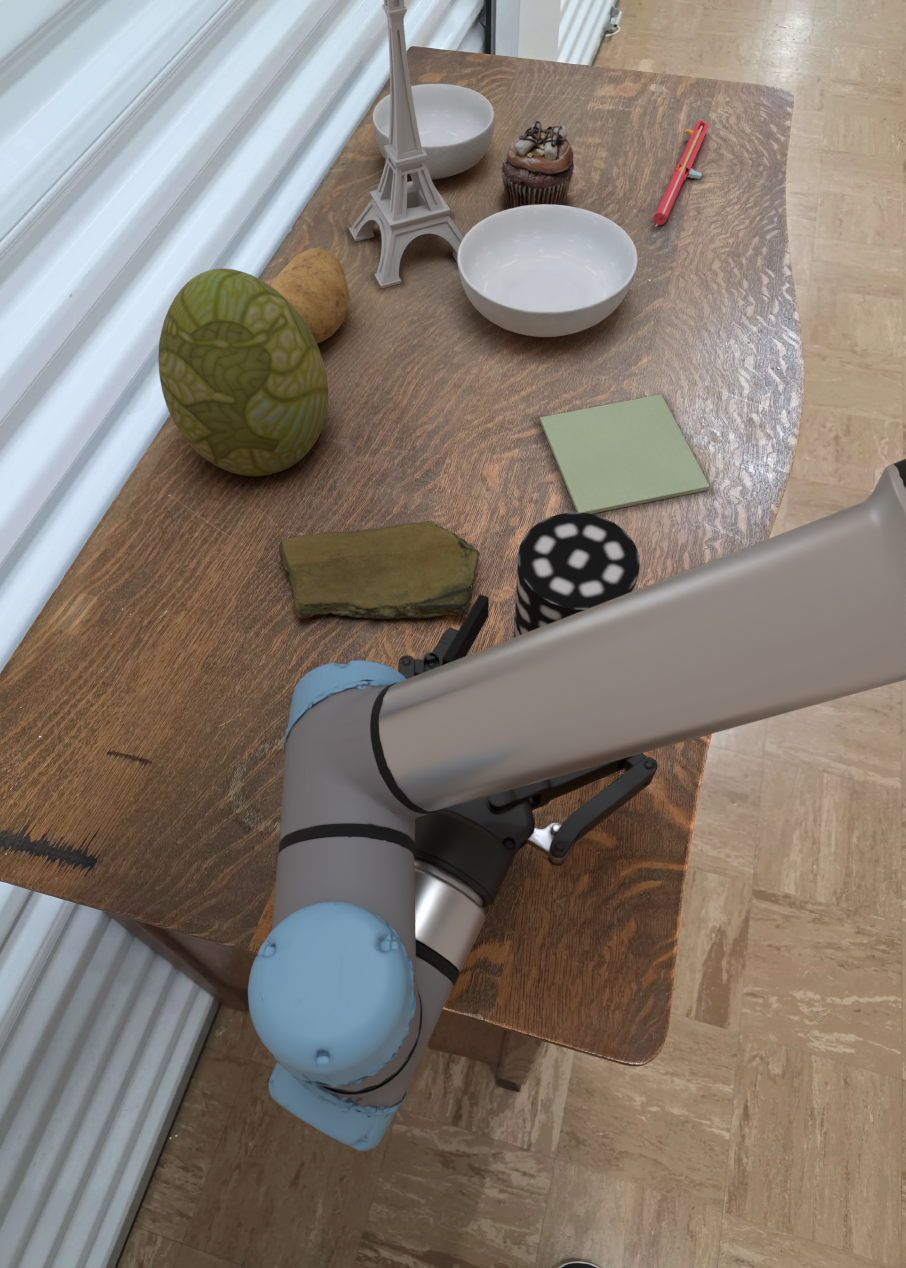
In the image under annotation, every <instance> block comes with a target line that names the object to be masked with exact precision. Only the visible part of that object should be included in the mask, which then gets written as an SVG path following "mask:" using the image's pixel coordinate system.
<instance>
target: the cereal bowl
mask: <svg viewBox="0 0 906 1268" xmlns="http://www.w3.org/2000/svg"><path fill="white" fill-rule="evenodd" d="M411 90H412V97H413V103H414V109H415V115H416V121H417V126H418V132H419V137H420V142H421V147H422V148H423V149H424V151H425V152H426V154H427V158H428V159H427V160H426V161H425V163H426V166H427V169H428V171H429V174H430V177H431V179H432V180H441V179H446V178H449V177H451V176H455V175H458V174H461V173H464V172H465V171H468V170H469V169H471V168H473V167H474V166H476V165H477V164H478V163H479V162H480V161H481V160H483V158H484V157H485V155H486V154H487V152H488V150H489V149H490V146H491V144H492V140H493V136H494V130H495V111H494V107H493V105H492V103H491V101H489V99H487V97H485V96H484V95H483V94H482V93H480V92H478V91H475V90H473V89H471V88H468V87H464V86H460V85H456V84H448V83H424V84H416V85H411ZM371 120H372V129H373V136H374V140H375V143H376V146H377V149H378V150H379V152H380V154H381V155H382V157H383V158H384V159H385V160H386V159H387V155H388V154H387V153H386V151H385V149H384V146H386V145H389V126H390V93H389V94H387V95H386V96H384V97H383V98H381V99H380V100H379V102H378V103H377V104H376V105H375V107H374V109H373V112H372V119H371ZM408 175H410V173H409V174H408Z"/></svg>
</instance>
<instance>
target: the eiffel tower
mask: <svg viewBox="0 0 906 1268" xmlns="http://www.w3.org/2000/svg"><path fill="white" fill-rule="evenodd" d="M381 7H382V9H383V10H384V12H385V15H386V20H387V34H388V53H389V54H388V56H389V57H388V58H389V94H390V126H389V145H386V146H384V149H385V151H386V153H387V154H388V155H387V159H385V163H384V167H383V170H382V174H381V177H380V181H379V183H378V186H377V189H374V190H371V191H369V195H370V196H371V199H370V201H369V202H368V204H367V205H366V207H365V208H364V209H363V211H362V212H361V213H360V215H359V216H358V217H357V219H356V220H355V221H354V223H353V224H352V225H351V227H348V231H349V233H350V235H351V237H352V239H353V241H354V242H359V241H364V240H367V239H371V238H372V239H373V238H375V232H374V228H375V225H376V224H377V225H378V227H379V231H380V235H381V248H380V249H381V250H380V257H379V262H378V265H377V266H378V267H377V270H376V272H375V273H373V274H374V278H375V280H376V282H377V284H378V285H379V287H380V288H381V289H385V288H389V287H392V286H396V285H401V284H402V279H401V277H400V263H401V259H402V256H403V254H404V251H405V250H406V248H407V246H408V245H409V244H410V243H411V242H412V241H413V240H414V239H416V238H417V237H419V236H422V235H428V234H429V235H430V234H431V235H435V236H438V237H441V238H443V239H444V240H446V241H447V242H448V243H449V244H450V245H451V246H452V249H453V252H452V257H453V258H454V260H455V261H456V262H457V255H458V249H459V246H460V244H461V242H462V240H463V238H464V237H465V236H463V235H462V233H461V232H460V230H459V229H458V227H457V225H455V223H454V221H453V220H452V218H451V217H450V214H451V208H450V207H449V205H448V204H447V203H446V201H445V199H444V198H443V196H442V195H441V194H440V193H439V190H438V189H437V188H436V186H435V185H434V182H433V179H431V177H430V174H429V171H428V169H427V166H426V163H425V161H426V160H427V159H428V158H427V154H426V152H425V151H424V149H423V148H422V147H421V142H420V137H419V132H418V126H417V121H416V115H415V109H414V103H413V97H412V90H411V86H412V85H411V83H412V82H411V77H410V70H409V61H408V51H407V44H406V42H407V41H406V32H405V23H404V22H405V21H404V20H405V16H406V13H407V11H408V9H407V7H406V6H405V0H383V4H381ZM409 173H410V174H409ZM408 175H409V176H410V178H411V179H410V180H411V181H408Z"/></svg>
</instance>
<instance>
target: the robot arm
mask: <svg viewBox="0 0 906 1268" xmlns="http://www.w3.org/2000/svg"><path fill="white" fill-rule="evenodd" d="M489 598H490V597H488V596H487V595H484V594H482V593H480V594H479V595H478V596H477V598H476V600H475V602H474V604H473V605H472V607H471V609H470V610H469V612H468V614H467V615H466V617H465V619H464V620H463V623H462V624H461V626H460V628H459V629H456V628H453V627H451V626H449V627H448V628H447V629H446V630H444V632H443V633H442V634H441V637H440V638H439V640H438V642H437V644H435V647H434V648H433V650H432V651H429V652H427V653H425V654H424V655H423V658H421V659H419V658H414V657H413V656H411V655H408V654H405V655H402V656H401V657H400V658H399V659H398V663H397V664H398V665H397V666H398V667H397V670H396V669H394V668H393V667H390V666H389V665H387V664H383V663H381V662H376V661H369V660H363V659H354V660H350V661H348V663H337V662H329V663H325V664H322V665H319V666H317V667H315V668H313V669H312V670H310V671H309V672H306V674H305V675H303V676H302V677H301V678H300V679H299V681H298V682H297V683H296V684H295V685H296V686H295V687H294V689H293V693H292V696H291V703H290V711H289V716H288V723H287V728H286V730H285V734H284V740H283V751H284V765H283V779H282V780H283V781H282V795H281V810H280V811H281V812H280V826H279V827H280V828H279V844H278V854H277V863H276V875H275V887H274V898H273V899H274V901H273V911H272V923H271V931H270V932H269V933H268V935H267V937H266V939H265V940H264V941H263V943H262V945H261V946H260V948H259V950H258V953H257V955H256V956H255V958H254V960H253V962H252V965H251V968H250V974H249V976H248V977H249V978H248V985H247V999H248V1000H247V1001H248V1010H249V1015H250V1019H251V1022H252V1025H253V1028H254V1030H255V1032H256V1034H257V1036H258V1038H259V1039H260V1041H261V1043H262V1044H263V1046H265V1047H266V1049H267V1050H268V1053H270V1054H271V1056H272V1058H273V1060H275V1061H276V1063H275V1066H274V1068H273V1070H272V1072H271V1075H270V1076H269V1080H268V1091H269V1095H270V1097H271V1098H272V1099H273V1100H274V1101H275V1102H276V1103H277V1104H278V1105H279V1106H281V1107H282V1108H283V1109H285V1110H286V1111H288V1113H290V1114H292V1115H293V1116H295V1117H296V1118H298V1119H300V1120H301V1121H302V1122H304V1123H306V1124H308V1125H309V1126H311V1127H312V1128H315V1129H316V1130H318V1131H319V1132H321V1133H322V1134H324V1135H326V1136H328V1137H330V1138H332V1139H333V1140H335V1141H337V1142H339V1143H341V1144H343V1145H345V1146H349V1147H350V1148H351V1149H354V1150H356V1151H360V1152H367V1151H371V1150H373V1149H374V1148H376V1147H377V1146H378V1145H379V1144H380V1142H381V1141H382V1139H383V1137H384V1135H385V1133H386V1131H387V1130H388V1128H389V1126H390V1124H391V1122H392V1120H393V1118H394V1116H395V1115H396V1113H397V1112H398V1109H399V1108H400V1107H402V1106H403V1105H404V1102H405V1100H406V1098H407V1094H408V1093H407V1090H408V1088H409V1085H410V1083H411V1080H412V1079H413V1076H414V1074H415V1072H416V1069H417V1067H418V1065H419V1063H420V1061H421V1059H422V1056H423V1054H424V1052H425V1050H426V1048H427V1047H428V1046H427V1045H428V1043H429V1041H430V1039H431V1038H432V1037H431V1036H432V1034H433V1033H434V1030H435V1027H436V1026H437V1023H438V1021H439V1019H440V1016H441V1014H442V1012H443V1009H444V1008H445V1006H446V1003H447V1001H448V998H449V996H450V994H451V991H452V990H453V987H454V986H455V985H456V983H457V980H458V979H459V977H460V974H461V972H462V970H463V968H464V966H465V965H466V962H467V960H468V957H469V956H470V953H471V951H472V949H473V947H474V945H475V943H476V941H477V939H478V938H479V937H478V936H479V934H480V932H481V930H482V928H483V927H484V924H485V922H486V920H487V918H486V915H485V914H486V913H485V910H484V909H485V908H488V907H489V906H492V905H493V904H494V903H495V901H496V899H497V897H498V894H499V893H500V890H501V888H502V886H503V885H504V882H505V881H506V878H507V876H508V873H509V871H510V869H511V866H512V864H513V863H514V860H515V859H516V857H517V854H518V853H519V851H520V850H521V849H522V848H524V847H525V846H527V845H529V846H531V847H532V848H534V849H536V850H537V851H539V852H540V853H542V854H543V855H546V856H547V860H548V862H549V863H550V865H552V866H554V867H561V866H563V865H564V863H566V861H567V859H568V857H569V856H570V854H571V852H572V850H573V849H574V847H575V845H576V844H577V843H578V842H579V841H580V840H581V839H582V838H583V837H585V836H586V835H587V834H589V833H590V832H591V831H592V830H594V829H595V828H596V827H597V826H599V825H600V824H601V823H603V822H604V821H605V820H606V819H607V818H609V817H610V816H612V815H613V814H614V813H615V812H616V811H618V810H619V809H620V808H621V807H623V806H624V805H625V804H627V803H629V802H630V801H631V800H632V799H633V798H634V797H636V796H637V795H639V793H641V792H642V791H644V790H645V789H646V788H648V787H649V786H650V784H651V783H652V781H653V780H654V777H655V775H656V773H657V771H658V767H659V765H658V762H657V760H656V759H654V757H650V756H647V755H645V754H644V753H648V752H651V751H655V750H659V749H663V748H665V747H669V746H673V745H677V744H680V743H683V742H687V741H692V740H695V739H699V738H701V737H705V736H708V735H712V734H716V733H719V732H724V731H727V730H730V729H735V728H738V727H741V726H745V725H749V724H752V723H756V722H759V721H763V720H766V719H770V718H774V717H778V716H781V715H784V714H788V713H792V712H795V711H798V710H802V709H805V708H809V707H813V706H817V705H820V704H824V703H828V702H832V701H834V700H837V699H843V698H846V697H850V696H852V695H856V694H859V693H863V692H866V691H870V690H873V689H879V688H881V687H884V686H888V685H892V684H895V683H899V682H902V681H906V458H904V459H901V460H899V461H896V462H894V463H892V464H889V465H887V466H885V468H884V469H883V471H882V473H881V475H880V477H879V479H878V481H877V482H876V485H875V487H874V489H873V491H872V492H871V494H870V495H869V496H868V497H867V498H866V499H865V500H864V501H862V502H859V503H857V504H854V505H852V506H850V507H847V508H844V509H841V510H839V511H837V512H833V513H831V514H829V515H826V516H823V517H821V518H818V519H815V520H813V521H810V522H808V523H806V524H803V525H800V526H798V527H795V528H793V529H790V530H788V531H784V532H781V533H779V534H777V535H775V536H772V537H769V538H767V539H764V540H762V541H759V542H757V543H753V544H752V545H749V546H745V547H743V548H741V549H738V550H736V551H733V552H731V553H728V554H725V555H723V556H720V557H718V558H715V559H713V560H710V561H708V562H705V563H702V564H699V565H697V566H694V567H692V568H690V569H687V570H685V571H681V572H679V573H677V574H674V575H672V576H669V577H666V578H664V579H661V580H659V581H656V582H654V583H651V584H648V585H646V586H643V587H641V588H638V589H634V591H633V592H630V593H627V594H625V595H622V596H620V597H617V598H615V599H612V600H609V601H607V602H604V603H602V604H599V605H597V606H594V607H591V608H589V609H586V610H584V611H581V612H579V613H576V614H573V615H571V616H568V617H566V618H563V619H561V620H558V621H555V622H553V623H550V624H548V625H545V626H542V627H540V628H537V629H535V630H532V631H530V632H527V633H524V634H522V635H519V636H517V637H514V638H513V637H511V638H509V639H507V640H504V641H501V642H499V643H496V644H494V645H491V646H488V647H486V648H483V649H481V650H478V651H476V652H473V653H469V651H470V650H471V648H472V646H473V645H474V643H475V641H476V640H477V638H478V636H479V634H480V632H481V630H482V629H483V627H484V625H485V624H486V622H487V620H488V618H489V615H490V614H489V611H490V610H489V608H490V607H489V603H490V602H489V601H490V599H489ZM468 653H469V654H468ZM622 770H624V771H625V772H624V773H622V774H621V775H620V776H619V777H617V778H615V780H613V781H612V782H611V783H610V784H608V785H607V786H605V787H604V788H603V789H602V790H600V791H599V792H598V793H597V794H595V795H594V796H592V797H591V798H590V799H589V800H587V801H586V802H585V803H584V804H582V805H580V807H578V808H577V809H576V810H574V811H573V812H572V813H571V814H570V815H568V817H567V818H565V820H564V821H562V824H561V823H557V822H552V823H550V824H548V825H547V826H546V827H545V828H538V827H536V821H535V816H534V812H533V811H536V810H537V809H540V808H542V807H545V806H546V805H547V804H548V803H550V802H551V801H553V800H556V799H557V798H560V797H562V796H565V795H567V794H569V793H571V792H574V791H577V790H578V789H581V788H583V787H586V786H587V785H588V786H589V785H590V784H593V783H595V782H597V781H600V780H602V779H604V778H606V777H609V776H611V775H613V774H616V773H619V772H620V771H622ZM483 908H484V909H483Z"/></svg>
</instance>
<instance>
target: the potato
mask: <svg viewBox="0 0 906 1268" xmlns="http://www.w3.org/2000/svg"><path fill="white" fill-rule="evenodd" d="M269 285H270V286H271V287H273V288H274V289H275V290H276V291H278V292H279V293H280V294H281V295H282V296H283V297H284V298H286V299H287V300H288V301H289V303H290V304H291V305H292V306H293V307H294V308H295V309H296V311H297V312H298V313H299V314H300V316H301V317H302V318H303V320H304V321H305V323H306V325H307V326H308V328H309V329H310V331H311V333H312V335H313V337H314V339H315V341H316V343H317V344H319V343H323V342H324V341H326V340H327V339H329V338H331V337H332V336H333V335H334V334H335V333H336V332H337V331H338V329H339V328H340V327H341V326H342V324H343V323H344V321H345V320H346V315H347V309H348V306H349V303H350V300H351V295H350V292H349V287H348V283H347V278H346V275H345V271H344V268H343V266H342V264H341V262H340V260H339V258H337V256H336V255H334V254H333V253H331V252H330V251H329V250H327V249H325V248H324V249H323V248H314V247H313V248H312V247H311V248H308V249H307V250H304V251H303V252H300V253H298V254H296V255H295V256H294V257H293V258H292V259H291V260H290V261H289V262H288V263H287V264H286V265H285V266H284V267H283V268H282V270H280V272H279V273H278V274H277V275H276V277H275V278H274V279H273V280H272V282H271V283H270V284H269Z"/></svg>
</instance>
